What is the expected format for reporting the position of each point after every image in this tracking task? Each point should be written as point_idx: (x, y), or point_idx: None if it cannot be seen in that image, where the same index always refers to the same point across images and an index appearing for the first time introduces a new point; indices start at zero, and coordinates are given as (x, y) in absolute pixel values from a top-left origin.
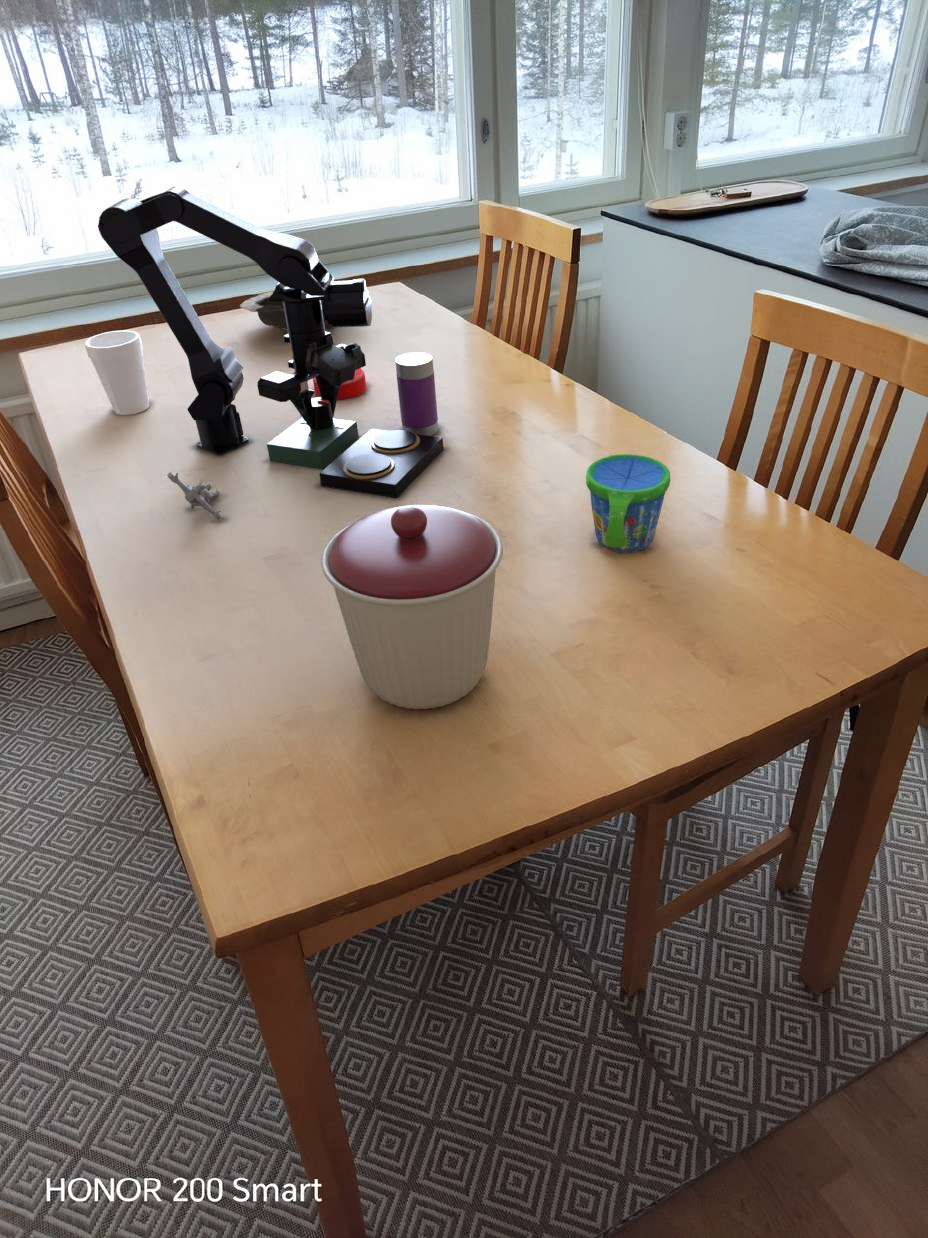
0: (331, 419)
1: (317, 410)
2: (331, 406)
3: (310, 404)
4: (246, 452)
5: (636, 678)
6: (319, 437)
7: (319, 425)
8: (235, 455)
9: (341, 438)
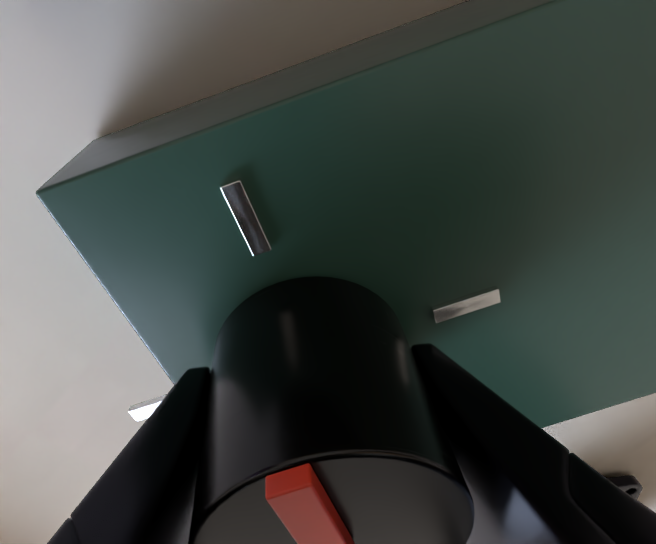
0: (269, 319)
1: (436, 431)
2: (188, 445)
3: (582, 523)
4: (573, 436)
5: None
6: (501, 192)
7: (394, 319)
8: (611, 442)
9: (346, 65)
